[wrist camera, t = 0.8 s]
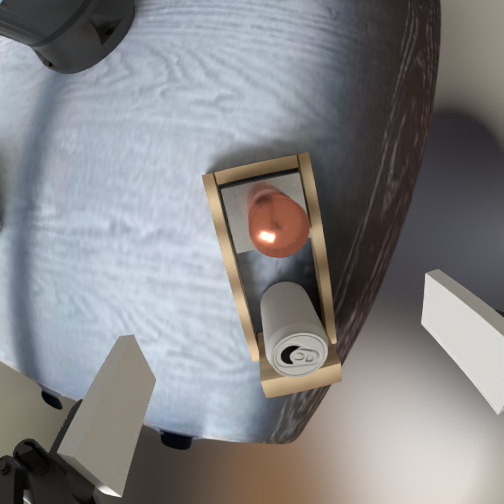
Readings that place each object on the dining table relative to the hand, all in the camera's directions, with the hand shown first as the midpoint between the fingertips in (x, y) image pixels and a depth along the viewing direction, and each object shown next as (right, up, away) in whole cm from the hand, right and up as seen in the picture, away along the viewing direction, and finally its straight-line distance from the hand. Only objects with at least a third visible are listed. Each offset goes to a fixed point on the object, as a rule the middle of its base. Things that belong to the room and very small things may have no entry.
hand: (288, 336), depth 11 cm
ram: (0, +9, +22) cm, 23 cm away
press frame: (+2, +2, +24) cm, 24 cm away
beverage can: (+3, -3, +26) cm, 26 cm away
